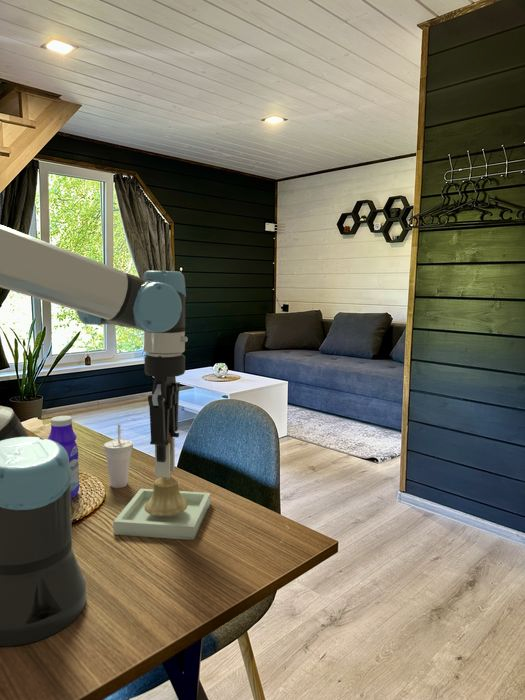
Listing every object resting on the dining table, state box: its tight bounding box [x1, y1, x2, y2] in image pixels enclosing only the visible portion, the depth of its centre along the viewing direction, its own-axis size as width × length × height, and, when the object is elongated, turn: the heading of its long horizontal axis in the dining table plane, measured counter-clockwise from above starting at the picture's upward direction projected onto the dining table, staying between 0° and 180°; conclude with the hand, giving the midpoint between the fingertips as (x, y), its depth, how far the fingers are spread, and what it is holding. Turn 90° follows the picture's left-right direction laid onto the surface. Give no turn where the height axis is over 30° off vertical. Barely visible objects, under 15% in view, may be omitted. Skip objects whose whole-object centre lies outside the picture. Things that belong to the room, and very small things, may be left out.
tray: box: [113, 488, 211, 541], centre depth 99 cm, size 15×15×2 cm
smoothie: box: [103, 423, 134, 489], centre depth 114 cm, size 6×6×14 cm
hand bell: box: [144, 433, 187, 516], centre depth 98 cm, size 8×8×16 cm
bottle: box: [47, 415, 80, 500], centre depth 107 cm, size 7×6×17 cm
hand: (165, 473), depth 98 cm, fingers closed on hand bell, 2 cm apart
